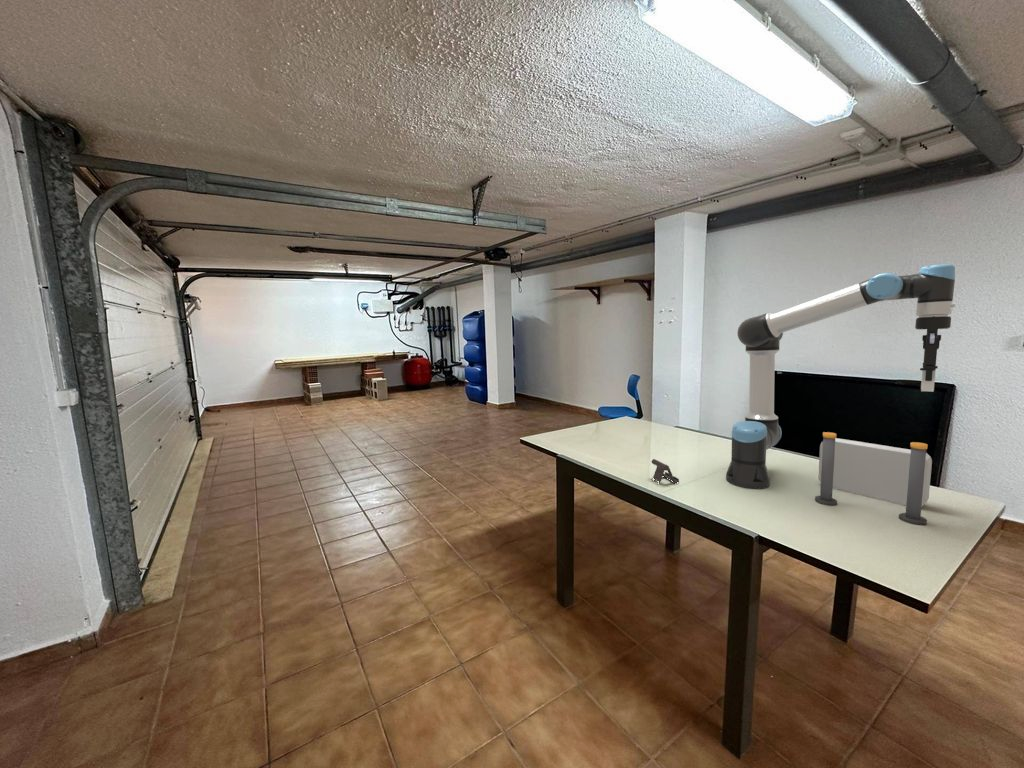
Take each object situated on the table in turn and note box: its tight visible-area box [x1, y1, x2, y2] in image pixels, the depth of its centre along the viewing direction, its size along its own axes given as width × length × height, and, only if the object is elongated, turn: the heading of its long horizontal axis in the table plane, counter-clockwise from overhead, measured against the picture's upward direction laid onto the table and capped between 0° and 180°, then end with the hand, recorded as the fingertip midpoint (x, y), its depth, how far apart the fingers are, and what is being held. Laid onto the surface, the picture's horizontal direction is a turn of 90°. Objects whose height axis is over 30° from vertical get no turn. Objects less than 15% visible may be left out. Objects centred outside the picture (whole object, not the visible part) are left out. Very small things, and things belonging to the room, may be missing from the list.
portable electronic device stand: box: [651, 458, 680, 484], centre depth 159 cm, size 9×8×8 cm
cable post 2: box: [898, 441, 929, 526], centre depth 119 cm, size 6×6×24 cm
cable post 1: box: [814, 431, 838, 507], centre depth 134 cm, size 6×6×24 cm
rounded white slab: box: [817, 437, 933, 507], centre depth 139 cm, size 29×8×18 cm, turn 33°
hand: (927, 389), depth 125 cm, fingers open, 6 cm apart
